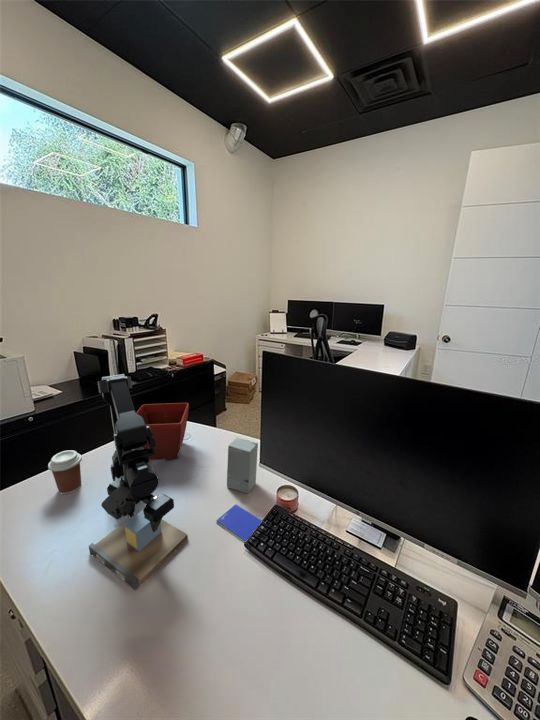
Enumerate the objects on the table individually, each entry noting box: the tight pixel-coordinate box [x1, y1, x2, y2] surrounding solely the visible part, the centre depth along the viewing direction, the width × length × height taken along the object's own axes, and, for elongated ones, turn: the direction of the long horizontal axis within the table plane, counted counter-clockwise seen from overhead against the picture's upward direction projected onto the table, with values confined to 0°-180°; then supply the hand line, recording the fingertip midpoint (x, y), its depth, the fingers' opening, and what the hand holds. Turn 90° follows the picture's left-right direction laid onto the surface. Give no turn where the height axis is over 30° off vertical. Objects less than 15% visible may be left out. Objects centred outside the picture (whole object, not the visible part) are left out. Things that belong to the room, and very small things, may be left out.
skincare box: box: [226, 437, 259, 494], centre depth 99 cm, size 8×7×16 cm
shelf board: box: [88, 507, 189, 591], centre depth 77 cm, size 18×16×2 cm
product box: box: [124, 508, 162, 551], centre depth 78 cm, size 7×5×6 cm
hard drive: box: [216, 504, 263, 543], centre depth 85 cm, size 2×8×12 cm
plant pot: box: [136, 402, 190, 461], centre depth 118 cm, size 19×19×17 cm
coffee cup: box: [47, 449, 83, 495], centre depth 97 cm, size 9×9×12 cm
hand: (143, 523), depth 77 cm, fingers open, 9 cm apart
